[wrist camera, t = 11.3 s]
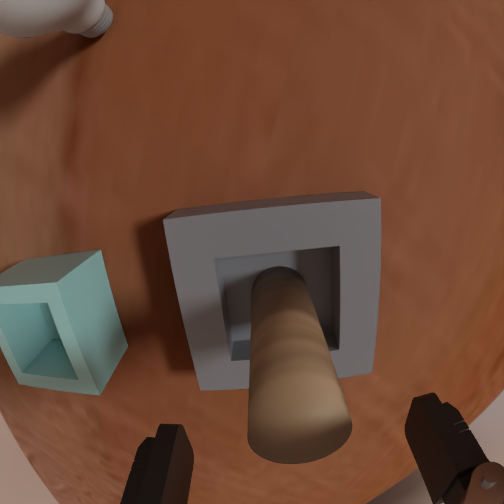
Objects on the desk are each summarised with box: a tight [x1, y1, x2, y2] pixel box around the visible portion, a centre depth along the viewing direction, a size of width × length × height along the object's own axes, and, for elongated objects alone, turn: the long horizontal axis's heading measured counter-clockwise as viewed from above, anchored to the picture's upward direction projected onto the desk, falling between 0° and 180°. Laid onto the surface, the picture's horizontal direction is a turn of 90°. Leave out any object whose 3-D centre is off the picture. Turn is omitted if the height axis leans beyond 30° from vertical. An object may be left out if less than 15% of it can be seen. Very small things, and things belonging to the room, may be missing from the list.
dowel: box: [248, 266, 352, 464], centre depth 15 cm, size 4×4×12 cm
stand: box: [163, 191, 381, 391], centre depth 20 cm, size 12×12×3 cm
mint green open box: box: [0, 250, 128, 395], centre depth 19 cm, size 8×8×6 cm
